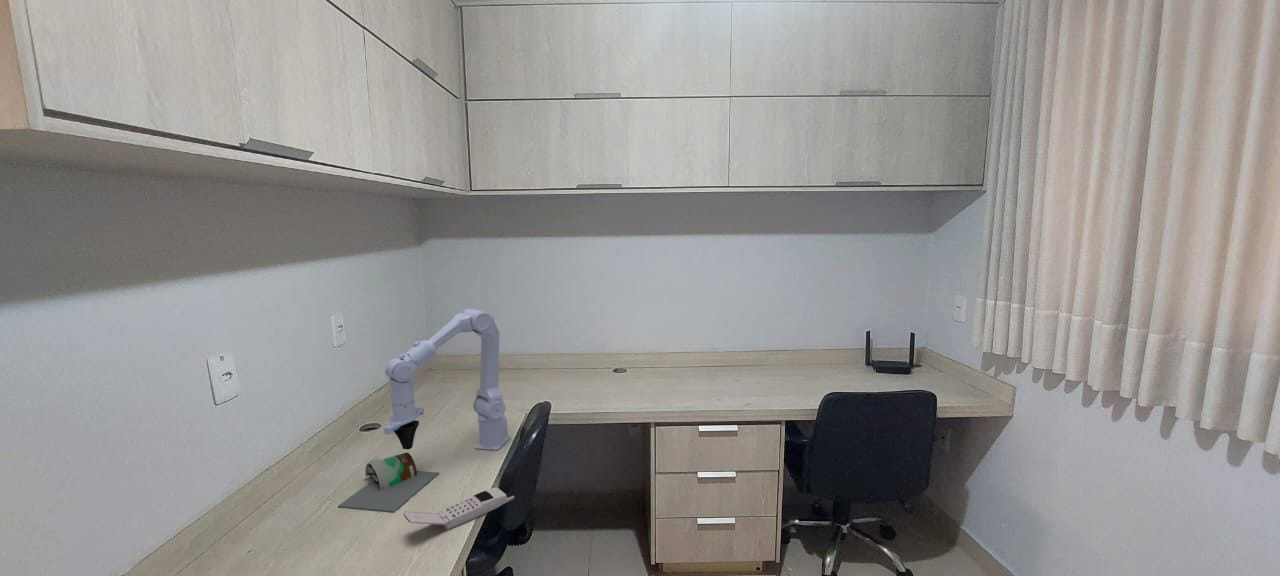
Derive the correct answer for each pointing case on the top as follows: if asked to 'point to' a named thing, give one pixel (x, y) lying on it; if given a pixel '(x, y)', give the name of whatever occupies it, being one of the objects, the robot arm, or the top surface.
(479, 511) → the mobile phone
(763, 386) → the top surface
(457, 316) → the robot arm
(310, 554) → the top surface
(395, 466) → the food container
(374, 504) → the charcoal mat
